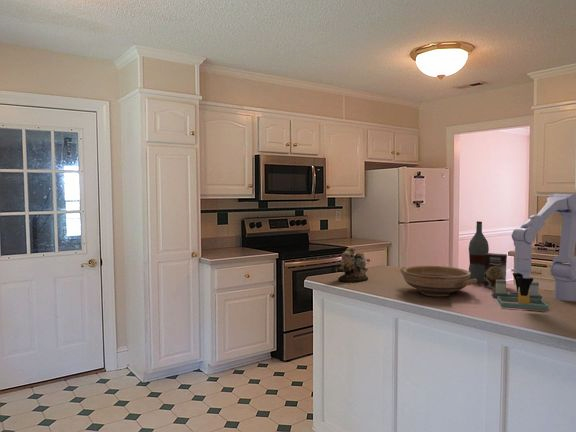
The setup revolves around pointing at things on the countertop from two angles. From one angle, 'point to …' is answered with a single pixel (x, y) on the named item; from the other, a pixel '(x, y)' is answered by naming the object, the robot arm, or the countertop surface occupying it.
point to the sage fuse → (501, 286)
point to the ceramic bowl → (437, 279)
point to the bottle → (478, 254)
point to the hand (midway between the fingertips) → (522, 293)
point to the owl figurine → (353, 266)
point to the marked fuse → (523, 297)
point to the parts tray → (518, 305)
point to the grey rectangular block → (534, 288)
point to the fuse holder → (512, 295)
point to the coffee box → (494, 269)
